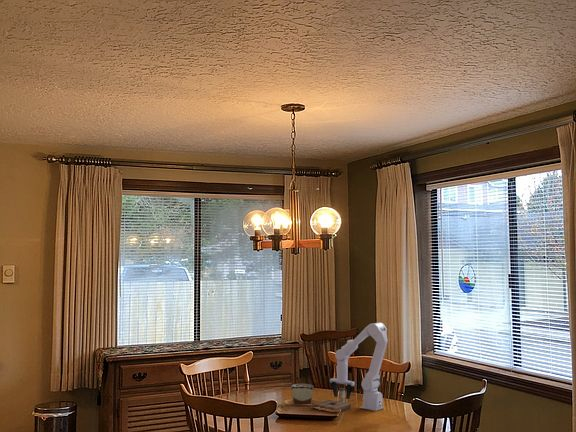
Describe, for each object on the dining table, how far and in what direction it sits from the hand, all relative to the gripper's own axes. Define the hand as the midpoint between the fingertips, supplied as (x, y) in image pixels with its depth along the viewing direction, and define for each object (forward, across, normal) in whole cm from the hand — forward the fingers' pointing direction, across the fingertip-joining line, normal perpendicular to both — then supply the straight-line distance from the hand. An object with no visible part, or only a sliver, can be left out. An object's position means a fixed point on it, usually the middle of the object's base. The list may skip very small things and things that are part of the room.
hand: (341, 397), depth 322 cm
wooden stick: (+3, 0, 0) cm, 3 cm away
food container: (+3, -15, -15) cm, 21 cm away
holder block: (+3, +3, -14) cm, 15 cm away
